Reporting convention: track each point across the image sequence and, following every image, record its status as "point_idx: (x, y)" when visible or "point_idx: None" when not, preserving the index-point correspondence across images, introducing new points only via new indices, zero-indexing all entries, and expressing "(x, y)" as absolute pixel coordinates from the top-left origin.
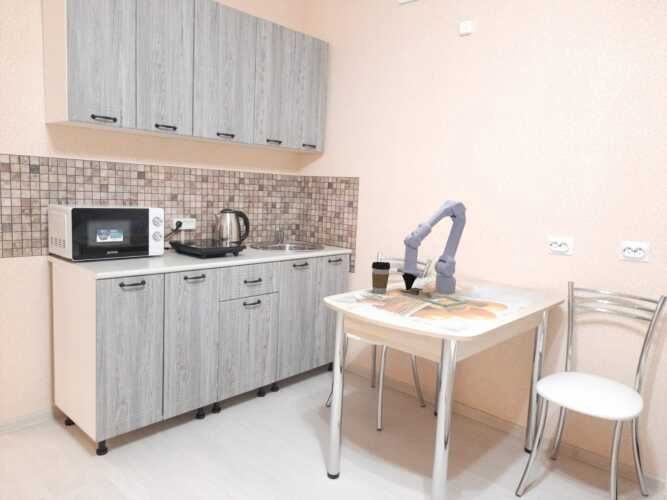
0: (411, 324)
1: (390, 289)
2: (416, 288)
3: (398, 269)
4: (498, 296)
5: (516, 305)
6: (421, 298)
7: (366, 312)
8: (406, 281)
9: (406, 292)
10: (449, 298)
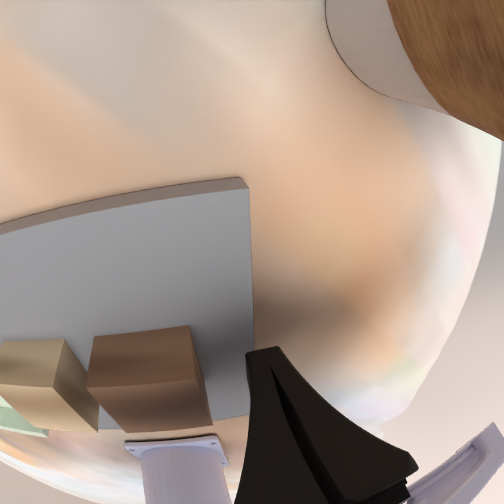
0: None
1: (430, 283)
2: (166, 416)
3: (495, 456)
4: (126, 492)
5: (29, 469)
6: None
7: None
8: (304, 433)
9: (249, 323)
10: (10, 421)
